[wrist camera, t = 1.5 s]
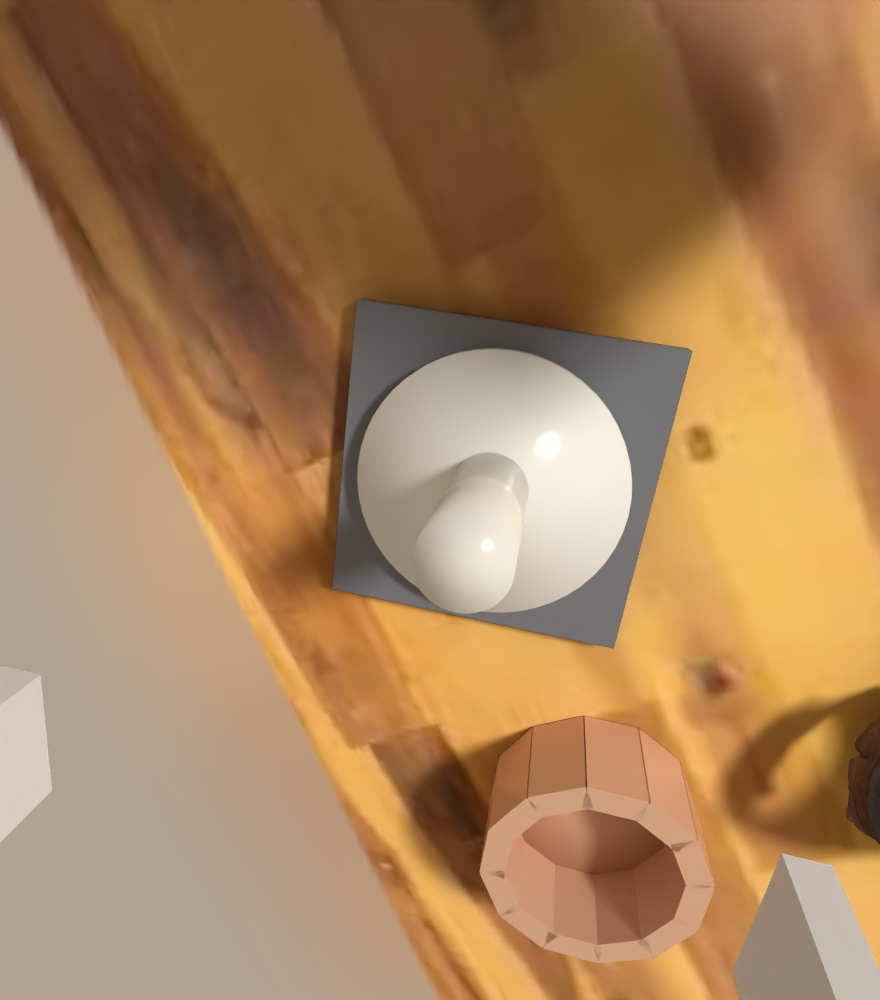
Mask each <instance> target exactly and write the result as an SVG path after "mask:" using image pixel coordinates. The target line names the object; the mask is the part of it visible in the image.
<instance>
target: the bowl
mask: <svg viewBox="0 0 880 1000" xmlns="http://www.w3.org/2000/svg"><path fill="white" fill-rule="evenodd" d="M480 875H481V877H482V880H483V882H484V884H485V886H486V888H487V890H488V892H489V894H490V897H491V899H492V901H493V903H494V905H495V907H496V909H497V911H498V914H499V915H500V916H501V917H502V918H503V919H505V920H506V921H507V922H509V923H510V924H511V925H513V926H514V927H515V928H516V929H518V930H519V931H520V932H522V933H523V934H524V935H526V936H527V937H528V938H530V939H531V940H532V941H534V942H535V943H536V944H538V945H539V946H540V947H543V948H544V949H547V950H551V951H554V952H558V953H562V954H565V955H569V956H573V957H576V958H580V959H584V960H587V961H591V962H595V963H598V961H599V963H610V962H619V961H629V960H638V959H648V958H654V956H655V957H657V956H659V955H660V954H662V953H664V952H665V951H667V950H668V949H670V948H672V947H673V946H675V945H676V944H678V943H680V942H681V941H683V940H684V939H686V938H687V937H689V936H691V935H692V934H694V933H695V932H697V931H698V930H699V928H700V925H701V923H702V920H703V918H704V915H705V912H706V910H707V907H708V905H709V902H710V899H711V897H712V894H713V892H714V889H715V885H714V881H713V877H712V872H711V868H710V864H709V860H708V856H707V852H706V847H705V843H704V839H703V835H702V831H701V827H700V822H699V818H698V814H697V810H696V806H695V802H694V799H693V797H692V794H691V791H690V788H689V785H688V782H687V780H686V777H685V774H684V771H683V768H682V766H681V763H680V762H679V760H678V759H677V758H675V757H674V756H673V755H672V754H670V753H669V752H668V751H667V750H665V749H664V748H663V747H662V746H660V745H659V744H658V743H657V742H655V741H654V740H653V739H652V738H650V737H649V736H648V735H647V734H645V733H644V732H643V731H642V730H640V729H638V728H636V727H631V726H627V725H622V724H618V723H614V722H609V721H605V720H600V719H596V718H592V717H587V716H584V717H583V716H580V717H576V718H571V719H566V720H562V721H557V722H552V723H548V724H543V725H538V726H534V727H533V728H530V729H529V730H528V731H527V732H526V733H525V734H524V735H523V736H522V737H520V738H519V739H518V740H517V741H516V742H515V743H514V744H513V745H511V746H510V747H509V748H508V749H507V750H506V751H505V752H504V753H503V754H501V755H500V756H499V758H498V763H497V768H496V773H495V778H494V783H493V787H492V792H491V798H490V804H489V811H488V818H487V825H486V832H485V838H484V845H483V852H482V859H481V865H480Z"/></svg>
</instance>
